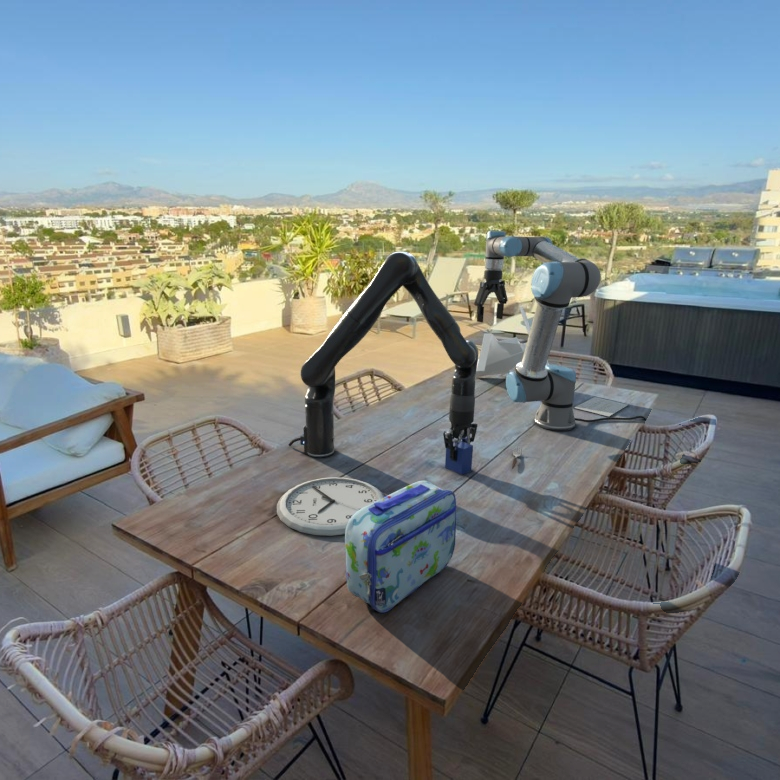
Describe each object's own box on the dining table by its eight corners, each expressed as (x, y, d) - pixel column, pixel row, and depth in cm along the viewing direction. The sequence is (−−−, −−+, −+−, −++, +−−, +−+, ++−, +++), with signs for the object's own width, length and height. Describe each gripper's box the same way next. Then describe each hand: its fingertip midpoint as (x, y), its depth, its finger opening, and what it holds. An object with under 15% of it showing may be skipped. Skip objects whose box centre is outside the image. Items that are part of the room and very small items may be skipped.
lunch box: (374, 626, 100) (375, 530, 93) (338, 598, 107) (337, 508, 101) (459, 568, 117) (465, 484, 111) (424, 547, 124) (427, 467, 118)
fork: (508, 469, 165) (508, 463, 165) (514, 450, 180) (515, 445, 179) (516, 471, 165) (516, 465, 164) (522, 451, 179) (522, 446, 178)
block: (454, 463, 170) (456, 438, 167) (471, 470, 165) (473, 445, 162) (444, 467, 166) (446, 442, 164) (461, 475, 162) (463, 449, 159)
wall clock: (392, 527, 129) (268, 531, 127) (391, 533, 130) (269, 537, 127) (383, 473, 158) (282, 475, 155) (383, 478, 158) (282, 480, 156)
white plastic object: (489, 418, 267) (470, 395, 242) (471, 346, 289) (451, 318, 264) (561, 394, 254) (547, 368, 230) (535, 321, 277) (521, 289, 252)
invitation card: (608, 416, 214) (573, 407, 224) (608, 416, 214) (573, 408, 224) (628, 404, 229) (594, 396, 238) (628, 405, 229) (594, 397, 238)
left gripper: (467, 399, 167) (464, 448, 172) (437, 408, 157) (434, 460, 162) (486, 404, 161) (482, 455, 166) (456, 415, 152) (453, 468, 157)
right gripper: (504, 267, 228) (500, 316, 235) (467, 270, 212) (464, 322, 218) (518, 269, 223) (514, 318, 229) (482, 271, 207) (478, 324, 213)
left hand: (459, 457), depth 164 cm, fingers closed on block, 4 cm apart
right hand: (489, 320), depth 224 cm, fingers open, 13 cm apart
